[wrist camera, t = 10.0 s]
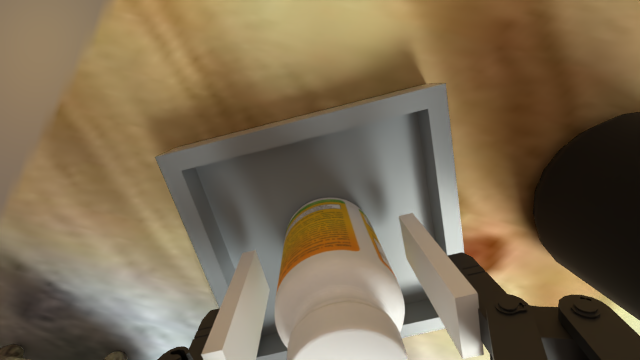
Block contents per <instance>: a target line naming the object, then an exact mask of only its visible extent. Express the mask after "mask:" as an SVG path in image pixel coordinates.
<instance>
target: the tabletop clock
mask: <svg viewBox="0 0 640 360" xmlns="http://www.w3.org/2000/svg"><path fill="white" fill-rule="evenodd" d="M23 354H24V350H23V349H22V347H21V346H19V345H15V344H11V345H7V346H3V347H2V348H0V360H31V359H24V358H23ZM104 360H128V358H127V356H126V354H125V353H124V352H121V351H115V352H113V353H110V354H109V355H107V356H106V357H105V358H104Z"/></svg>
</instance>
